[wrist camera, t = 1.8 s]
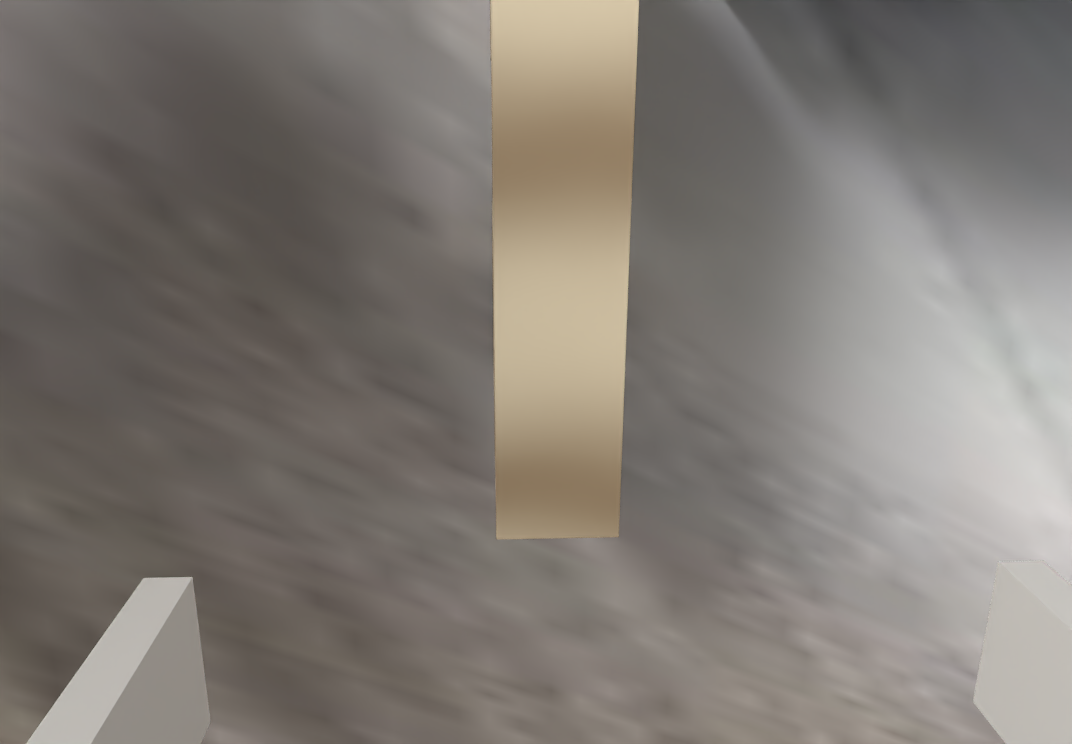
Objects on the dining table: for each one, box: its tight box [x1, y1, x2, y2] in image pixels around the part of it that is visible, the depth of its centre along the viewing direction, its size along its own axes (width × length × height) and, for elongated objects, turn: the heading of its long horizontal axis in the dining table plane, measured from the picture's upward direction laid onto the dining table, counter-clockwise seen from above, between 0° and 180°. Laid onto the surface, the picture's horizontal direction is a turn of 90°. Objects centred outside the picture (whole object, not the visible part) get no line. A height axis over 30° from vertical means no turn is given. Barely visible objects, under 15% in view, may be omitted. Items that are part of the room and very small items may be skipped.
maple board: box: [490, 0, 639, 539], centre depth 25 cm, size 18×3×12 cm, turn 0°
